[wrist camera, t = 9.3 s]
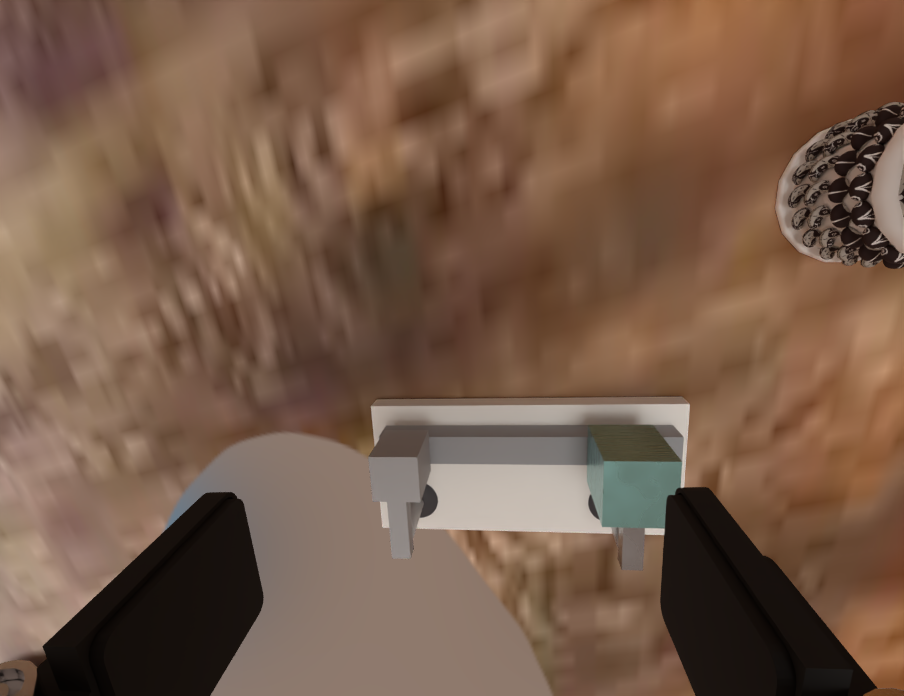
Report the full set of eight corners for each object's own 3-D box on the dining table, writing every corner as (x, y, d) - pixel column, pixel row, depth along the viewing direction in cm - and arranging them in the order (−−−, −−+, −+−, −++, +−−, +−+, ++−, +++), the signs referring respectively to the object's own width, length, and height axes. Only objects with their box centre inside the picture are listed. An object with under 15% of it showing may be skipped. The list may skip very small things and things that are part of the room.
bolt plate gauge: (376, 399, 35) (342, 441, 28) (681, 396, 32) (732, 442, 25) (387, 516, 37) (358, 583, 30) (673, 522, 34) (717, 598, 27)
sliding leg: (583, 414, 31) (603, 461, 25) (644, 413, 31) (682, 461, 24) (581, 512, 33) (600, 581, 26) (639, 513, 32) (673, 583, 26)
